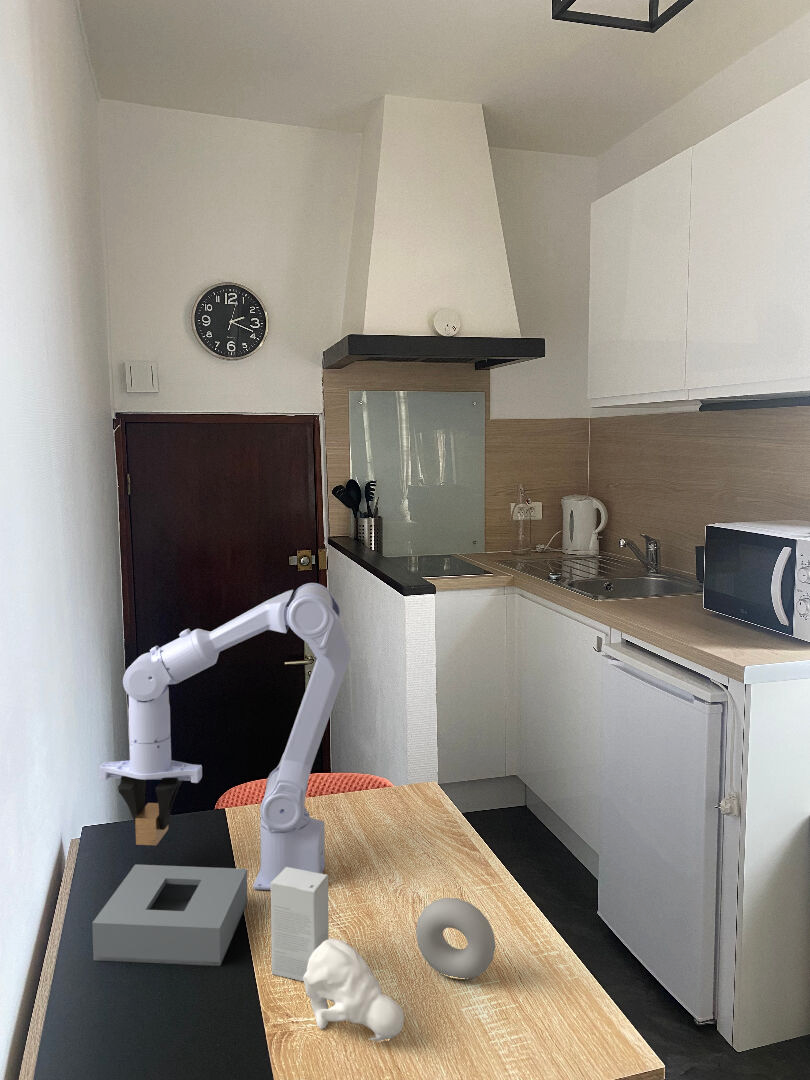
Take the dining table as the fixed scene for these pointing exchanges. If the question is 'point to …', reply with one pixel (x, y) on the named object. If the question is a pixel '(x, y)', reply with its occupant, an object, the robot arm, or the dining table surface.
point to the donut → (469, 924)
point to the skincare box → (297, 920)
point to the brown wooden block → (149, 826)
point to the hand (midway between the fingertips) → (152, 826)
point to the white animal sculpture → (349, 991)
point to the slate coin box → (171, 915)
